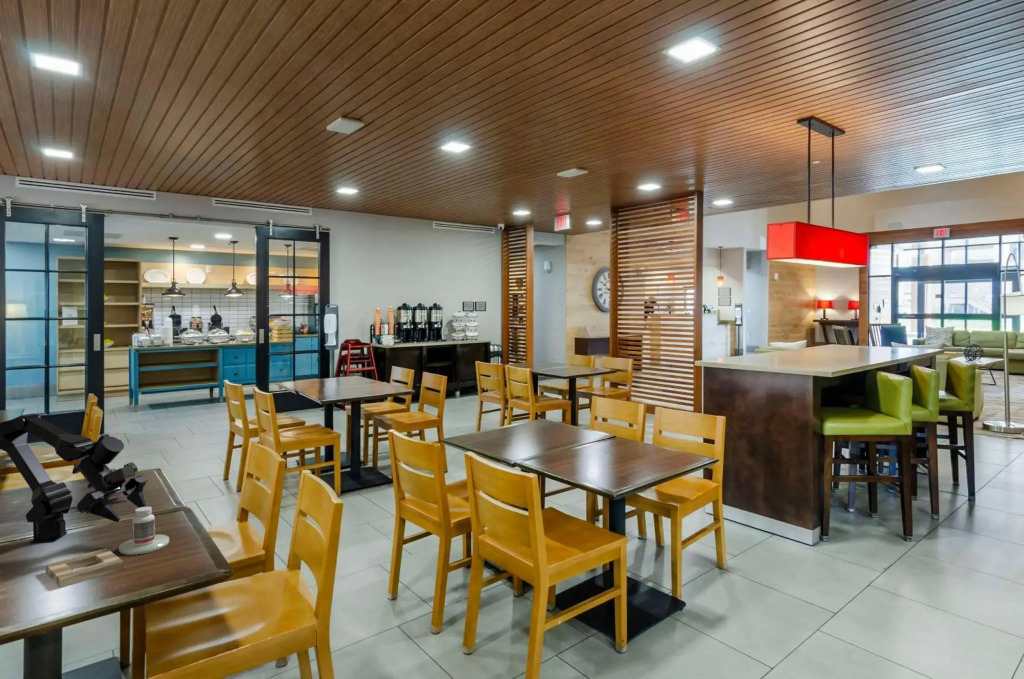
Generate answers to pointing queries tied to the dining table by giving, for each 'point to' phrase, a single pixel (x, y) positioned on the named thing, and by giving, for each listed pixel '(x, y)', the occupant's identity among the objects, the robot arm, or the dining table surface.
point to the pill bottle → (143, 526)
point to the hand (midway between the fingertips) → (132, 515)
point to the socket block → (66, 576)
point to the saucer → (144, 546)
